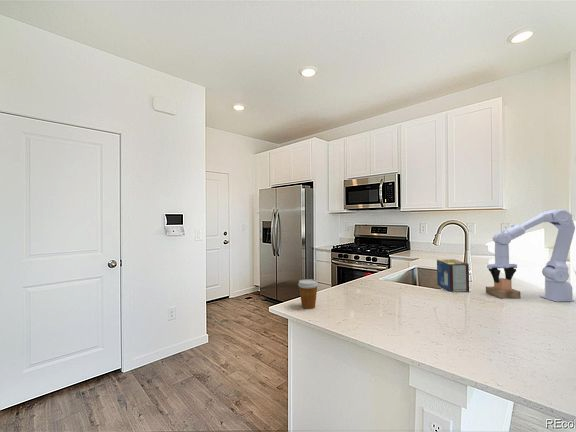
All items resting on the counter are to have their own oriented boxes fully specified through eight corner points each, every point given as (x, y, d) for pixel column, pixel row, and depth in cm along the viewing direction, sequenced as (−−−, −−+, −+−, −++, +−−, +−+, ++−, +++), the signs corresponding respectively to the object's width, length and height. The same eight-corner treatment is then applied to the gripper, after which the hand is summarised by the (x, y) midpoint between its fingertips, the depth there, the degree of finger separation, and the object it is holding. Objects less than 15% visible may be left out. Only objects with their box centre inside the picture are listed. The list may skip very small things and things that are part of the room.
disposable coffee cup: (295, 308, 125) (294, 282, 125) (303, 302, 134) (303, 278, 134) (314, 311, 121) (313, 284, 121) (321, 305, 129) (321, 280, 129)
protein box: (455, 285, 162) (454, 259, 162) (469, 292, 147) (469, 263, 147) (436, 284, 163) (436, 259, 163) (449, 292, 148) (449, 263, 148)
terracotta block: (503, 287, 142) (503, 278, 142) (511, 290, 137) (511, 280, 137) (494, 287, 142) (494, 278, 142) (502, 290, 137) (501, 280, 137)
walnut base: (504, 293, 144) (504, 286, 144) (520, 299, 134) (520, 291, 134) (485, 294, 145) (485, 286, 145) (500, 299, 135) (500, 291, 135)
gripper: (494, 257, 135) (495, 284, 135) (522, 256, 136) (522, 283, 136) (483, 255, 142) (484, 281, 142) (510, 254, 143) (510, 280, 143)
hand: (502, 282), depth 140 cm, fingers open, 6 cm apart
